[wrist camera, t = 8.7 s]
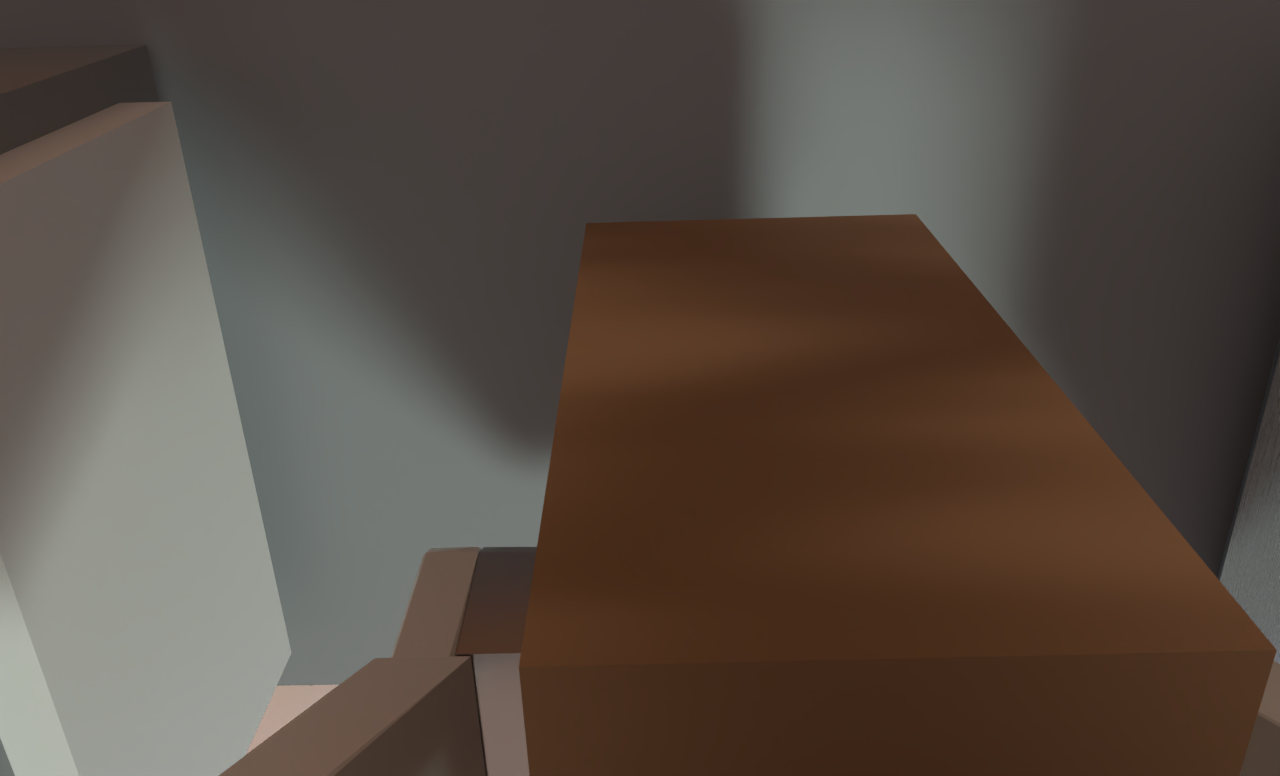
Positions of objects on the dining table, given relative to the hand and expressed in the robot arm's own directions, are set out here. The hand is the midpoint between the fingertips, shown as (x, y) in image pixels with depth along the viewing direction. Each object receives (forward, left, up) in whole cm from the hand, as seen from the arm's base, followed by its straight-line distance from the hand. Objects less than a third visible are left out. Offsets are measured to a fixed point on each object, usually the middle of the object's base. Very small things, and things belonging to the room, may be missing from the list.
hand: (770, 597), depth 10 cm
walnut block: (0, 0, -3) cm, 3 cm away
